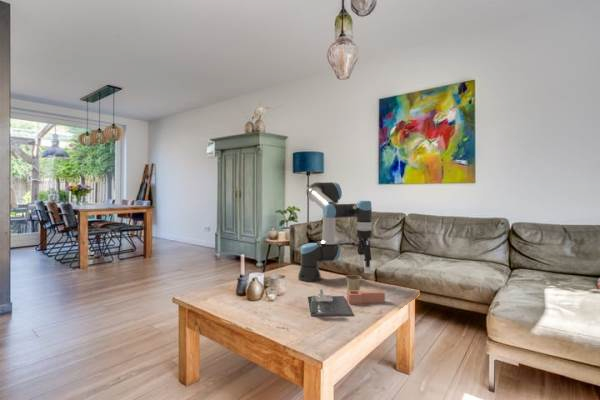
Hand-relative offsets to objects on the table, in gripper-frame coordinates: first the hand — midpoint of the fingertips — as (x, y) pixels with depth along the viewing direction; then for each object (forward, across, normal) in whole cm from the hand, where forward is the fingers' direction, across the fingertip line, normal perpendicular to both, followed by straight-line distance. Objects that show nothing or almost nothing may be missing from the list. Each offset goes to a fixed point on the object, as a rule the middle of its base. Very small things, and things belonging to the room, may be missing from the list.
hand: (364, 269), depth 164 cm
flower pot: (+17, -17, -2) cm, 24 cm away
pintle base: (+17, +5, -20) cm, 27 cm away
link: (+17, -1, +1) cm, 17 cm away
